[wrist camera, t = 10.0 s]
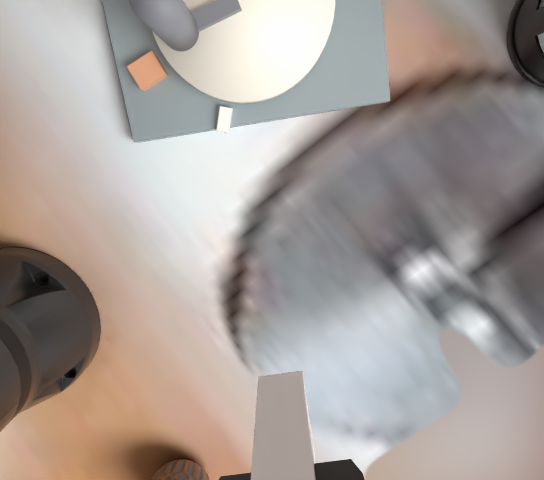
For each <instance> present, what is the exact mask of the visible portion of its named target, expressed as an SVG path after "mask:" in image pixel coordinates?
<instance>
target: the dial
mask: <svg viewBox="0 0 544 480" xmlns="http://www.w3.org/2000/svg"><path fill="white" fill-rule="evenodd" d="M129 3H130V6H131V9H132V10H133V12H134V13H135V15H136V16H137V17H138V18H139V19H140V20H141V21H142V22H144V23H145V24H146V25H147V26H148V27H149V28H150V29H151V30H152V32H153V35H154V38H155V40H156V42H157V44H158V46H159V48H160V50H161V52H162V53H163V55H164V57H165V58H166V60H167V61H168V62H169V64H170V65H171V66H172V67H173V69H174V70H175V71H176V72H177V73H178V74H179V75H180V76H181V77H182V78H183V79H185V80H186V81H187V82H189V83H190V84H191V85H193V86H194V87H195V88H197V89H198V90H199V91H201V92H203V93H205V94H207V95H208V96H211V97H213V98H216V99H218V100H222V101H226V102H230V103H238V104H251V103H258V102H263V101H267V100H270V99H273V98H275V97H277V96H280V95H282V94H284V93H285V92H287V91H288V90H290V89H292V88H293V87H294V86H295V85H297V84H298V83H299V82H300V81H301V80H302V79H303V78H304V77H305V76H306V75H307V74H308V73H309V72H310V70H311V69H312V68H313V66H314V65H315V63H316V62H317V60H318V58H319V56H320V55H321V53H322V51H323V49H324V47H325V45H326V42H327V39H328V37H329V34H330V31H331V27H332V23H333V19H334V12H335V0H129Z"/></svg>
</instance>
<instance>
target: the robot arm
mask: <svg viewBox="0 0 544 480" xmlns="http://www.w3.org/2000/svg"><path fill="white" fill-rule="evenodd" d="M100 333H101V325H100V317H99V312H98V309H97V306H96V303H95V301H94V298H93V296H92V294H91V293H90V291H89V289H88V288H87V286H86V285H85V284H84V282H83V281H82V280H81V279H80V278H79V276H78V275H77V274H76V273H75V272H73V271H72V270H71V269H70V268H69V267H67V266H66V265H65V264H63V263H62V262H60V261H59V260H57V259H55V258H53V257H51V256H49V255H47V254H44V253H42V252H39V251H36V250H32V249H27V248H19V247H6V248H0V432H1V431H2V430H3V428H4V427H5V426H6V425H7V424H8V423H9V422H10V421H11V420H12V419H13V418H14V417H15V416H16V415H17V414H18V413H20V412H22V411H24V410H26V409H29V408H31V407H33V406H35V405H37V404H39V403H41V402H43V401H45V400H47V399H49V398H51V397H53V396H55V395H57V394H59V393H60V392H62V391H63V390H65V389H66V388H68V387H69V386H70V385H71V384H72V383H73V382H74V381H75V380H76V379H77V378H78V377H79V376H80V375H81V374H82V373H83V371H84V370H85V369H86V368H87V367H88V365H89V364H90V363H91V361H92V359H93V358H94V356H95V354H96V351H97V348H98V345H99V341H100ZM219 480H364V477H363V473H362V472H361V471H360V470H359V468H358V467H357V466H356V465H355V464H354V462H353V461H352V460H351V459H348V460H340V461H332V462H324V463H315V455H314V447H313V439H312V433H311V426H310V420H309V413H308V406H307V400H306V393H305V387H304V380H303V374H302V371H297V372H289V373H282V374H274V375H267V376H259V377H258V390H257V403H256V417H255V430H254V443H253V456H252V470H251V473H246V474H237V475H229V476H221V477H220V479H219Z"/></svg>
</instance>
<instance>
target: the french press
mask: <svg viewBox="0 0 544 480" xmlns="http://www.w3.org/2000/svg"><path fill="white" fill-rule="evenodd" d="M540 3H541V0H517V2H516V4H515V6H514V8H513V11H512V13H511V17H510V20H509V23H508V32H507V42H508V50H509V53H510V57H511V59H512V61H513V63H514V65H515V67H516V69H517V70H518V71H519V72H520V73H521V75H522V76H523V77H525V78H526V79H527V80H529V81H530V82H532V83H534V84H536V85H538V86H540V87H544V53H543V51H542V49H541V47H540V44H539V40H538V36H537V35H539V34H541V33H543V32H544V7H542V8H540V9H539V7H540Z"/></svg>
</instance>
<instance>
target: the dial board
mask: <svg viewBox="0 0 544 480" xmlns="http://www.w3.org/2000/svg"><path fill="white" fill-rule="evenodd" d="M102 3H103V7H104V12H105V16H106V20H107V25H108V29H109V34H110V38H111V43H112V47H113V52H114V56H115V60H116V65H117V69H118V74H119V78H120V83H121V87H122V92H123V96H124V100H125V105H126V109H127V114H128V118H129V123H130V127H131V132H132V136H133V140H134V142H144V141H151V140H157V139H163V138H169V137H175V136H182V135H188V134H194V133H200V132H206V131H212V130H217V131H220V132H226V133H229V130H230V128H231V127H237V126H243V125H250V124H256V123H262V122H268V121H274V120H280V119H287V118H293V117H299V116H305V115H311V114H318V113H324V112H330V111H336V110H342V109H349V108H355V107H361V106H367V105H373V104H379V103H386V102H389V101H390V91H389V79H388V67H387V55H386V43H385V32H384V20H383V8H382V0H335V12H334V19H333V23H332V27H331V31H330V34H329V37H328V39H327V42H326V45H325V47H324V49H323V51H322V53H321V55H320V56H319V58H318V60H317V62H316V63H315V65H314V66H313V68H312V69H311V70H310V72H309V73H308V74H307V75H306V76H305V77H304V78H303V79H302V80H301V81H300V82H299V83H298V84H297V85H295V86H294V87H293V88H292V89H290V90H288V91H287V92H285V93H284V94H282V95H280V96H277V97H275V98H273V99H270V100H267V101H263V102H258V103H251V104H238V103H230V102H226V101H222V100H218V99H216V98H213V97H211V96H208V95H207V94H205V93H203V92H201V91H199V90H198V89H197V88H195V87H194V86H193V85H191V84H190V83H189V82H187V81H186V80H185V79H183V78H182V77H181V76H180V75H179V74H178V73H177V72H176V71H175V70H174V69H173V67H172V66H171V65H170V64H169V62H168V61H167V60H166V58H165V57H164V55H163V53H162V52H161V50H160V48H159V46H158V44H157V42H156V40H155V38H154V35H153V32H152V30H151V29H150V28H149V27H148V26H147V25H146V24H145V23H144V22H142V21H141V20H140V19H139V18H138V17H137V16H136V15H135V13H134V12H133V10H132V9H131V6H130V3H129V0H102Z"/></svg>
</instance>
